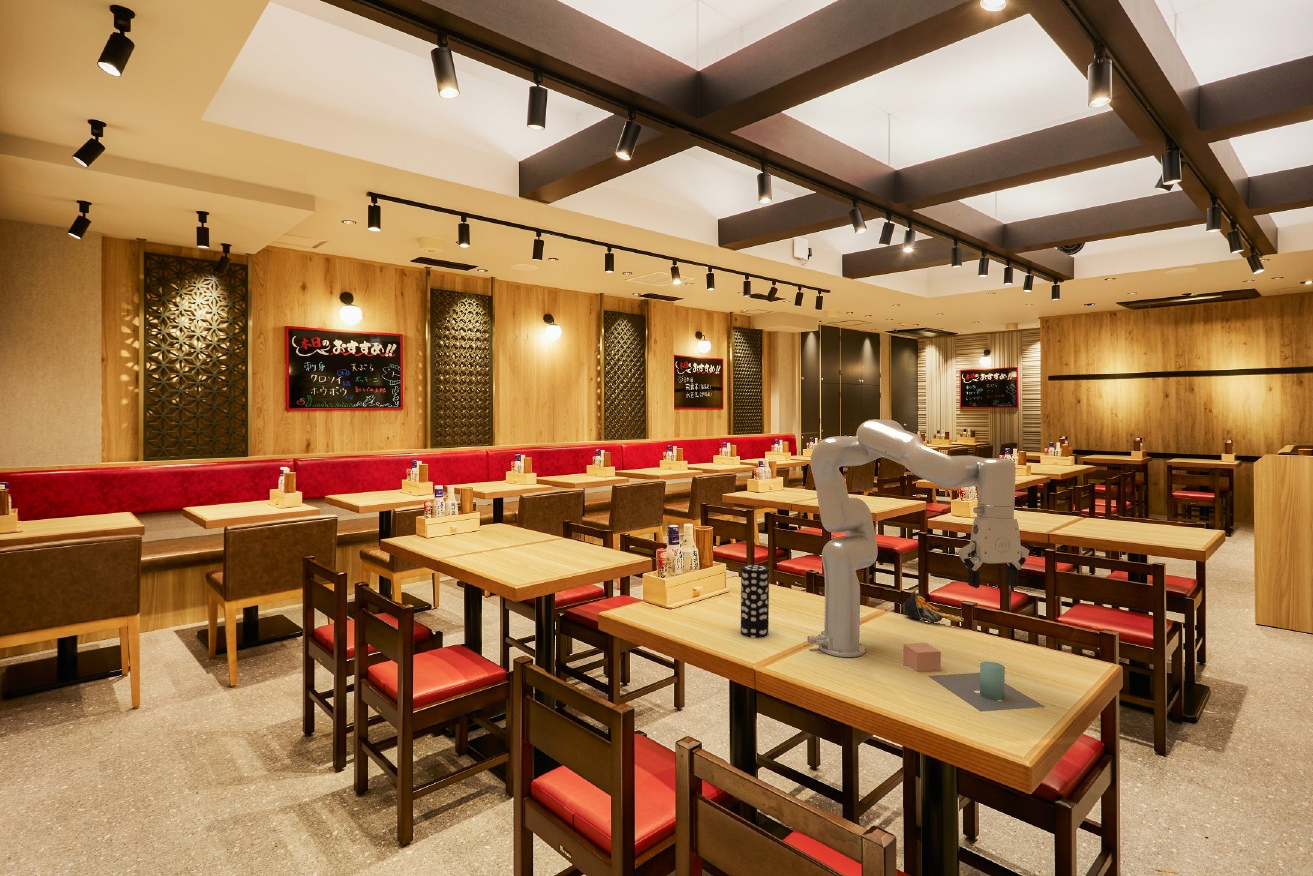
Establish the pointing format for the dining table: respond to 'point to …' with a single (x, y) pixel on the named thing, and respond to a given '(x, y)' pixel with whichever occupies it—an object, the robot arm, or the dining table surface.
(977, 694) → the board
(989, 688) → the cylinder
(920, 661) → the block
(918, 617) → the black and orange piece
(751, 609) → the spotted tube
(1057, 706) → the dining table surface
